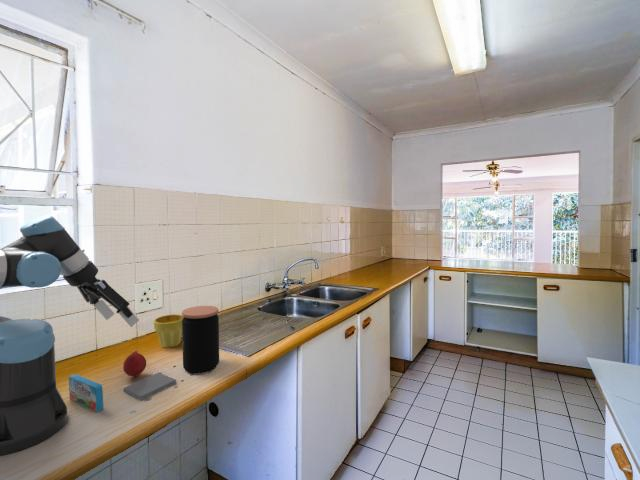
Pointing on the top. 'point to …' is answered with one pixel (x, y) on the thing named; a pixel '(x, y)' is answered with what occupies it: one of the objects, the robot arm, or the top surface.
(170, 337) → the plant pot
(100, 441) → the top surface
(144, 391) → the slate trivet
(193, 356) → the coffee jar
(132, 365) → the onion
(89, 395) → the blue flat box
